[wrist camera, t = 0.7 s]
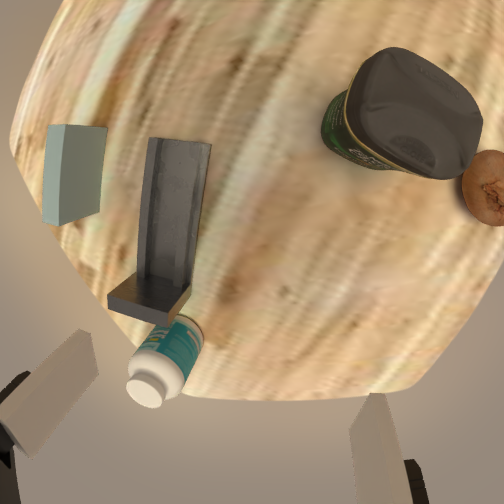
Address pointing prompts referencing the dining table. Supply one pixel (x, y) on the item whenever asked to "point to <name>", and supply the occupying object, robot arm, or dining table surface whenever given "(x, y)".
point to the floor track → (165, 232)
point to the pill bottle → (164, 362)
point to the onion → (485, 187)
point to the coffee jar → (404, 118)
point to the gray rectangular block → (72, 172)
